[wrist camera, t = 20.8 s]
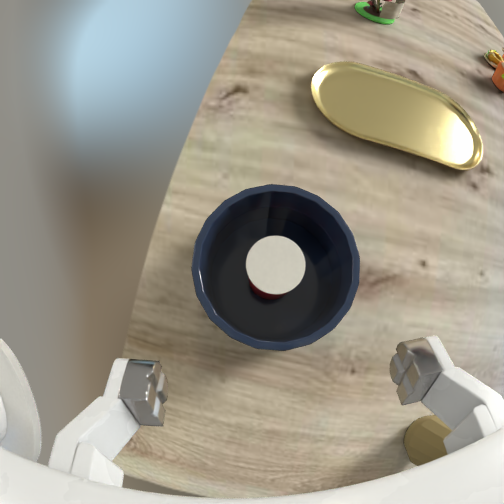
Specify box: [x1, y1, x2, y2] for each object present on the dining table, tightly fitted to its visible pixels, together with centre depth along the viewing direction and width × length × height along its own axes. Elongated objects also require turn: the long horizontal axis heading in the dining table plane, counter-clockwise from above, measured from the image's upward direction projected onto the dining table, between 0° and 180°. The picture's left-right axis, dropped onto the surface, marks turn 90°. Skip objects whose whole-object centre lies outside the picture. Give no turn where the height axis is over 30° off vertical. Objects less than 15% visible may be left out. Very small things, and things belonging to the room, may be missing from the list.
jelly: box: [246, 236, 305, 300], centre depth 33 cm, size 6×6×8 cm
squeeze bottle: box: [404, 415, 452, 466], centre depth 24 cm, size 8×8×18 cm
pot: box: [191, 184, 360, 351], centre depth 34 cm, size 17×17×9 cm
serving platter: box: [311, 62, 483, 170], centre depth 44 cm, size 19×35×2 cm, turn 79°
